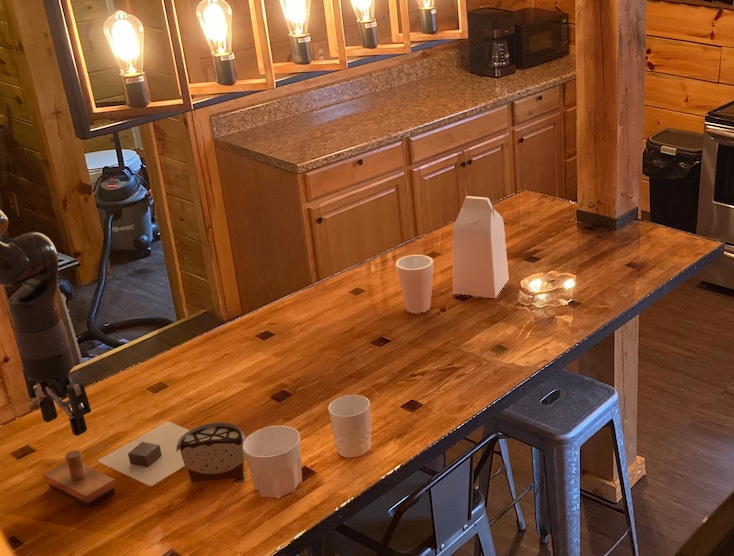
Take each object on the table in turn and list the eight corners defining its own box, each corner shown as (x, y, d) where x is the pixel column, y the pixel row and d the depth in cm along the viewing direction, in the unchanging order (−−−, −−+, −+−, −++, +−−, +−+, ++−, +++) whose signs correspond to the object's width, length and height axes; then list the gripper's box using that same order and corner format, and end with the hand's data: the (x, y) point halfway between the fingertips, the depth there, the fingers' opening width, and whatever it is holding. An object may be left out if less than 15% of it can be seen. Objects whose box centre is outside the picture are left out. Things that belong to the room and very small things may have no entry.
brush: (48, 492, 176) (36, 451, 172) (76, 476, 181) (65, 436, 177) (90, 514, 170) (80, 472, 167) (118, 497, 175) (108, 456, 171)
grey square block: (130, 464, 182) (127, 453, 181) (144, 452, 186) (141, 441, 185) (148, 467, 181) (145, 456, 180) (161, 455, 185) (159, 444, 184)
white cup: (332, 440, 192) (327, 398, 188) (372, 434, 194) (367, 391, 190) (335, 463, 185) (329, 419, 181) (376, 455, 187) (371, 412, 183)
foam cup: (393, 307, 247) (388, 261, 241) (423, 296, 252) (420, 251, 247) (412, 319, 240) (408, 273, 235) (443, 308, 246) (440, 262, 241)
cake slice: (257, 461, 185) (250, 417, 181) (252, 480, 180) (244, 436, 176) (191, 467, 183) (182, 423, 179) (183, 487, 178) (174, 442, 174)
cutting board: (97, 465, 184) (96, 460, 183) (168, 424, 196) (167, 420, 196) (151, 491, 177) (150, 486, 176) (221, 447, 189) (220, 443, 189)
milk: (509, 281, 261) (505, 192, 251) (495, 299, 251) (491, 207, 241) (467, 277, 264) (462, 188, 253) (452, 294, 254) (446, 203, 243)
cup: (264, 467, 183) (257, 424, 179) (314, 470, 182) (308, 427, 178) (241, 500, 174) (233, 455, 170) (293, 503, 173) (286, 458, 169)
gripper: (-2, 346, 163) (21, 425, 170) (48, 366, 157) (70, 448, 163) (40, 328, 169) (61, 405, 176) (90, 347, 163) (110, 427, 169)
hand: (65, 426), depth 169 cm, fingers open, 8 cm apart
